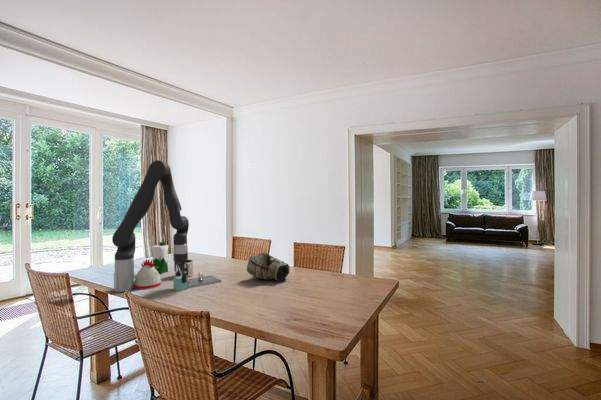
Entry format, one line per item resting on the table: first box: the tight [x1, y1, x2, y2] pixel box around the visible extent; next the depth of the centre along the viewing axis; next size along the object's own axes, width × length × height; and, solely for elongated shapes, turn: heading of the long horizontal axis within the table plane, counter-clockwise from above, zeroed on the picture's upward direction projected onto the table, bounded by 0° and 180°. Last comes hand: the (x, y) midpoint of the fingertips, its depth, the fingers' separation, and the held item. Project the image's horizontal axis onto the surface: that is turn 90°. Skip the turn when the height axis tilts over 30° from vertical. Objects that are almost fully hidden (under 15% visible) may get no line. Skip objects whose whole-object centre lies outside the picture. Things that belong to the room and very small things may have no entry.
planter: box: [174, 259, 194, 278], centre depth 202 cm, size 11×11×10 cm
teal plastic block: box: [172, 276, 188, 292], centre depth 174 cm, size 6×6×7 cm
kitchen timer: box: [134, 259, 162, 290], centre depth 181 cm, size 14×14×15 cm
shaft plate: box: [187, 271, 222, 289], centre depth 188 cm, size 20×14×6 cm
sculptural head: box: [246, 252, 290, 282], centre depth 197 cm, size 17×21×25 cm
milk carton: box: [151, 241, 170, 275], centre depth 212 cm, size 9×9×20 cm
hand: (181, 281), depth 174 cm, fingers open, 8 cm apart
